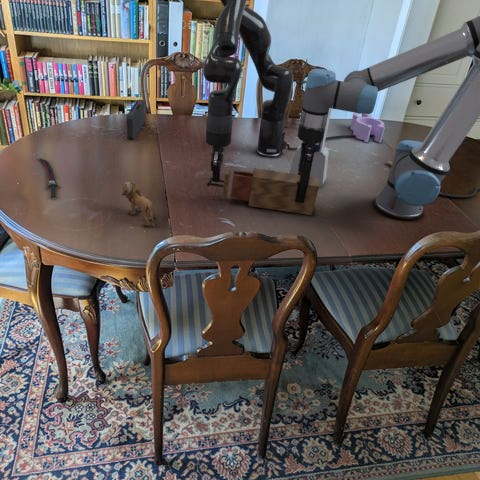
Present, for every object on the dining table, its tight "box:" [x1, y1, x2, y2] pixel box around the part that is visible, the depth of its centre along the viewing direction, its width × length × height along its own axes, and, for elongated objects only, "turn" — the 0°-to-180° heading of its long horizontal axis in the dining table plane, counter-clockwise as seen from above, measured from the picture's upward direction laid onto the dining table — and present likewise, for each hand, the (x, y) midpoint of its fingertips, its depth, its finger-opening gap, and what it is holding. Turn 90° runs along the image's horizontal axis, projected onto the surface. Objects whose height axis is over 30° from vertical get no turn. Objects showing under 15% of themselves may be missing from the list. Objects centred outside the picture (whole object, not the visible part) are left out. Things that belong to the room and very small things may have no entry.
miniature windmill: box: [284, 58, 308, 128], centre depth 209 cm, size 9×8×30 cm
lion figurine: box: [119, 181, 159, 227], centre depth 134 cm, size 15×5×9 cm, turn 50°
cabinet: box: [248, 168, 320, 216], centre depth 146 cm, size 20×6×10 cm, turn 85°
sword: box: [40, 158, 59, 198], centre depth 151 cm, size 31×3×1 cm, turn 26°
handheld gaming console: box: [126, 98, 146, 140], centre depth 191 cm, size 23×3×10 cm, turn 178°
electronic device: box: [288, 108, 333, 188], centre depth 159 cm, size 12×8×30 cm, turn 71°
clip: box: [349, 112, 386, 143], centre depth 214 cm, size 20×12×7 cm, turn 11°
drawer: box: [206, 167, 253, 202], centre depth 146 cm, size 24×5×8 cm, turn 85°
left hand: (215, 180), depth 146 cm, fingers closed
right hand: (299, 196), depth 147 cm, fingers closed on cabinet, 6 cm apart
